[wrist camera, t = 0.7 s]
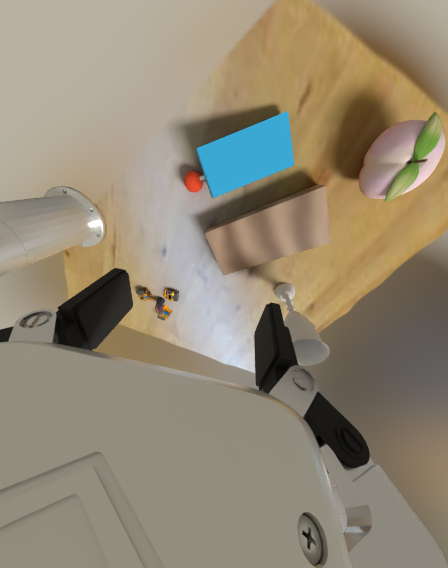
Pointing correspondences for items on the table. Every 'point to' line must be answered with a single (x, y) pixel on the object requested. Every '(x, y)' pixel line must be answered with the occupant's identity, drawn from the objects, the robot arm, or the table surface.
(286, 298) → the chalice
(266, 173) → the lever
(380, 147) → the decorative fruit
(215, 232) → the walnut riser block
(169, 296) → the toy set
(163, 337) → the table surface
